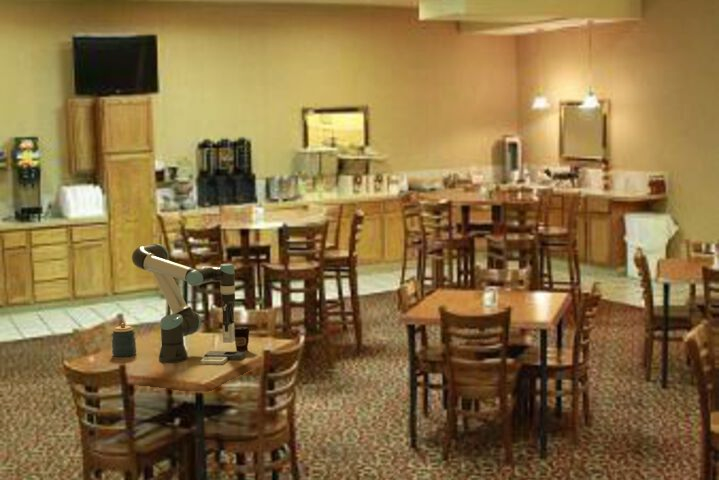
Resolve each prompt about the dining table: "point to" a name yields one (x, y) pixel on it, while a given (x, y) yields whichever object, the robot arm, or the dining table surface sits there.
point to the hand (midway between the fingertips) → (228, 336)
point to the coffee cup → (241, 338)
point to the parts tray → (213, 360)
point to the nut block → (232, 334)
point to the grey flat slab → (226, 354)
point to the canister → (123, 341)
